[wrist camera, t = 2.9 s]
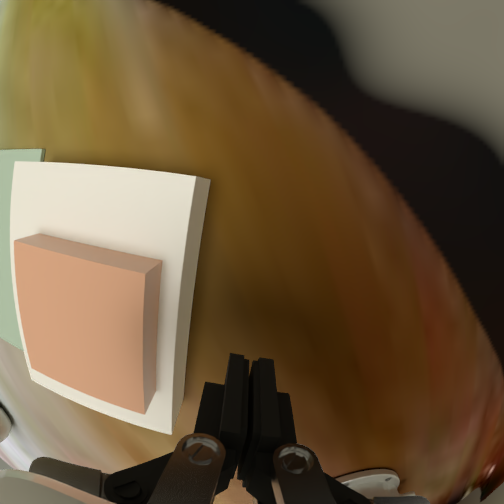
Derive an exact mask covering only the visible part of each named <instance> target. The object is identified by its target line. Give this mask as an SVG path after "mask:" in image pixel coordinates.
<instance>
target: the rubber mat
mask: <svg viewBox="0 0 504 504" xmlns="http://www.w3.org/2000/svg"><path fill="white" fill-rule="evenodd" d="M44 154H45V149H14V150H0V338H2V339H3V340H5V341H7V342H8V343H10V344H12V345H13V346H15V347H17V348H19V349H20V350H22V351H24V350H23V345H22V341H21V336H20V331H19V326H18V321H17V315H16V308H15V301H14V293H13V284H12V273H11V258H10V206H11V191H12V180H13V171H14V163H15V161H27V162H43V161H44Z"/></svg>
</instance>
